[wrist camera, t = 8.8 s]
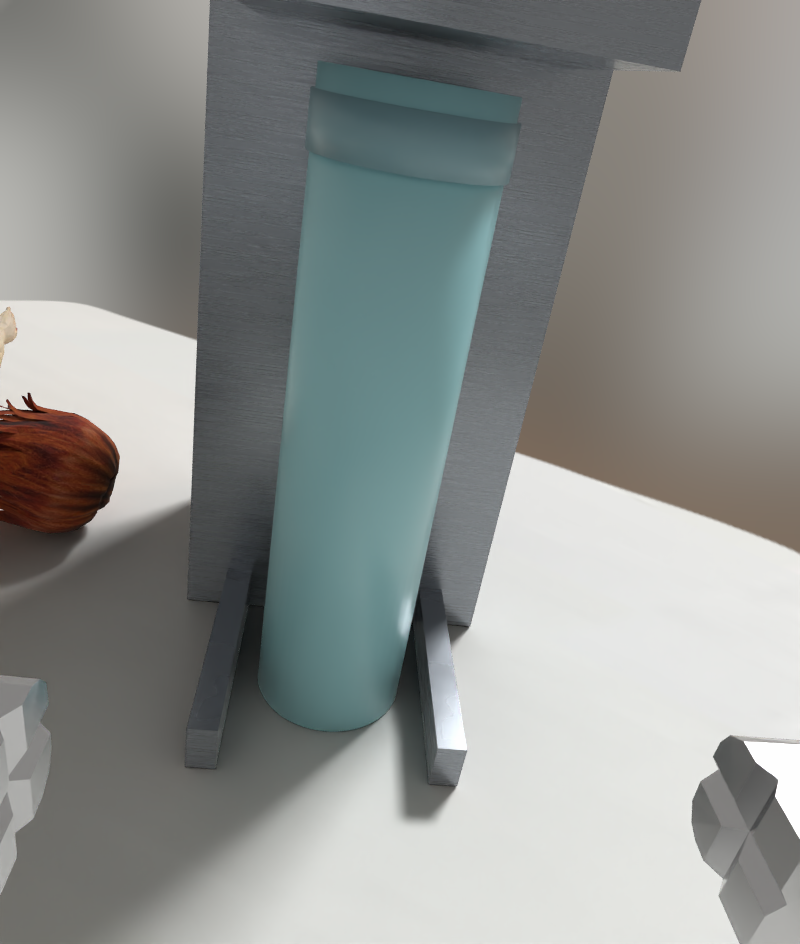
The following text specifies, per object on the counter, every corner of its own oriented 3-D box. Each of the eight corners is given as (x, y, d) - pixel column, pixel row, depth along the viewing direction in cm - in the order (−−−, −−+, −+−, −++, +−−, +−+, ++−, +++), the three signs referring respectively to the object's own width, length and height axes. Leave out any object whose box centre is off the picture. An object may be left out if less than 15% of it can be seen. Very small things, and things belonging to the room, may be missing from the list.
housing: (132, 769, 20) (128, -387, 10) (223, 485, 33) (260, -127, 23) (503, 795, 21) (832, -215, 11) (447, 511, 34) (573, -62, 24)
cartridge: (245, 727, 22) (306, 59, 14) (263, 623, 26) (318, 60, 18) (404, 740, 22) (548, 102, 14) (397, 636, 26) (506, 94, 18)
